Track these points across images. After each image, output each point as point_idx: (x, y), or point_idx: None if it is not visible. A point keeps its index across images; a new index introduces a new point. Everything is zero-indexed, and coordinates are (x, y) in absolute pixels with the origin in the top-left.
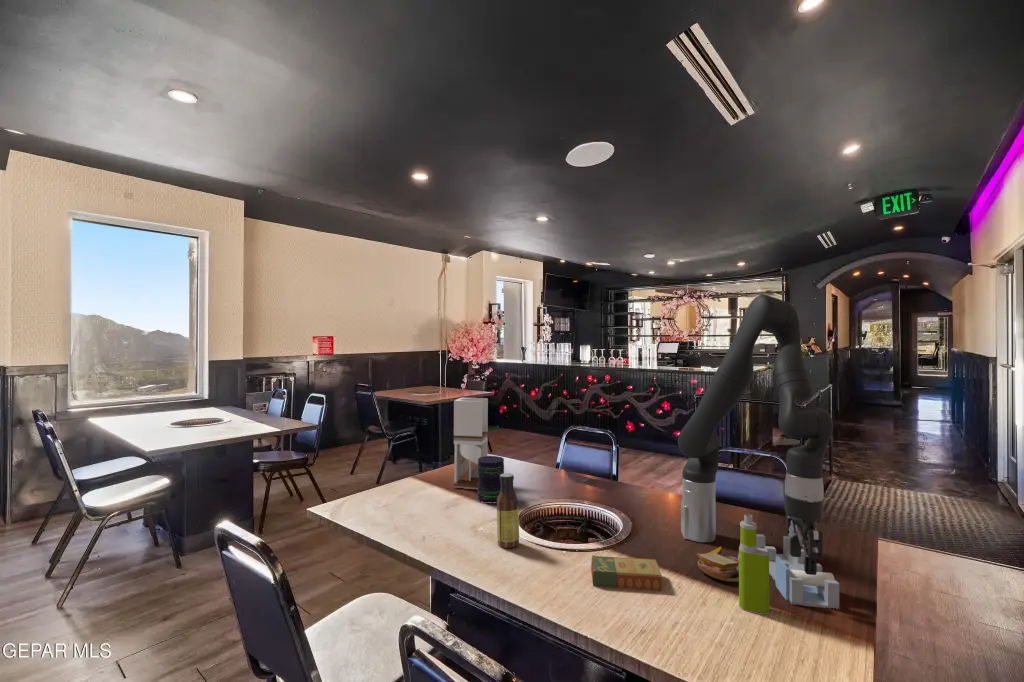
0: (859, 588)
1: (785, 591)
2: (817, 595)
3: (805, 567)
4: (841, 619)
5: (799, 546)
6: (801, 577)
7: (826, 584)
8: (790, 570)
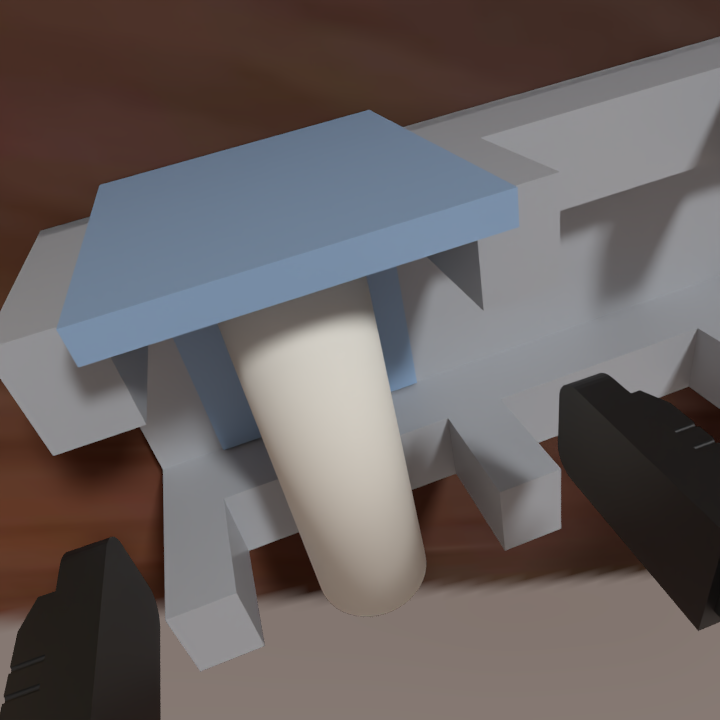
0: (513, 560)
1: (112, 203)
2: None
3: (54, 617)
4: (37, 523)
5: (648, 554)
6: (257, 406)
7: (196, 581)
8: (298, 330)
